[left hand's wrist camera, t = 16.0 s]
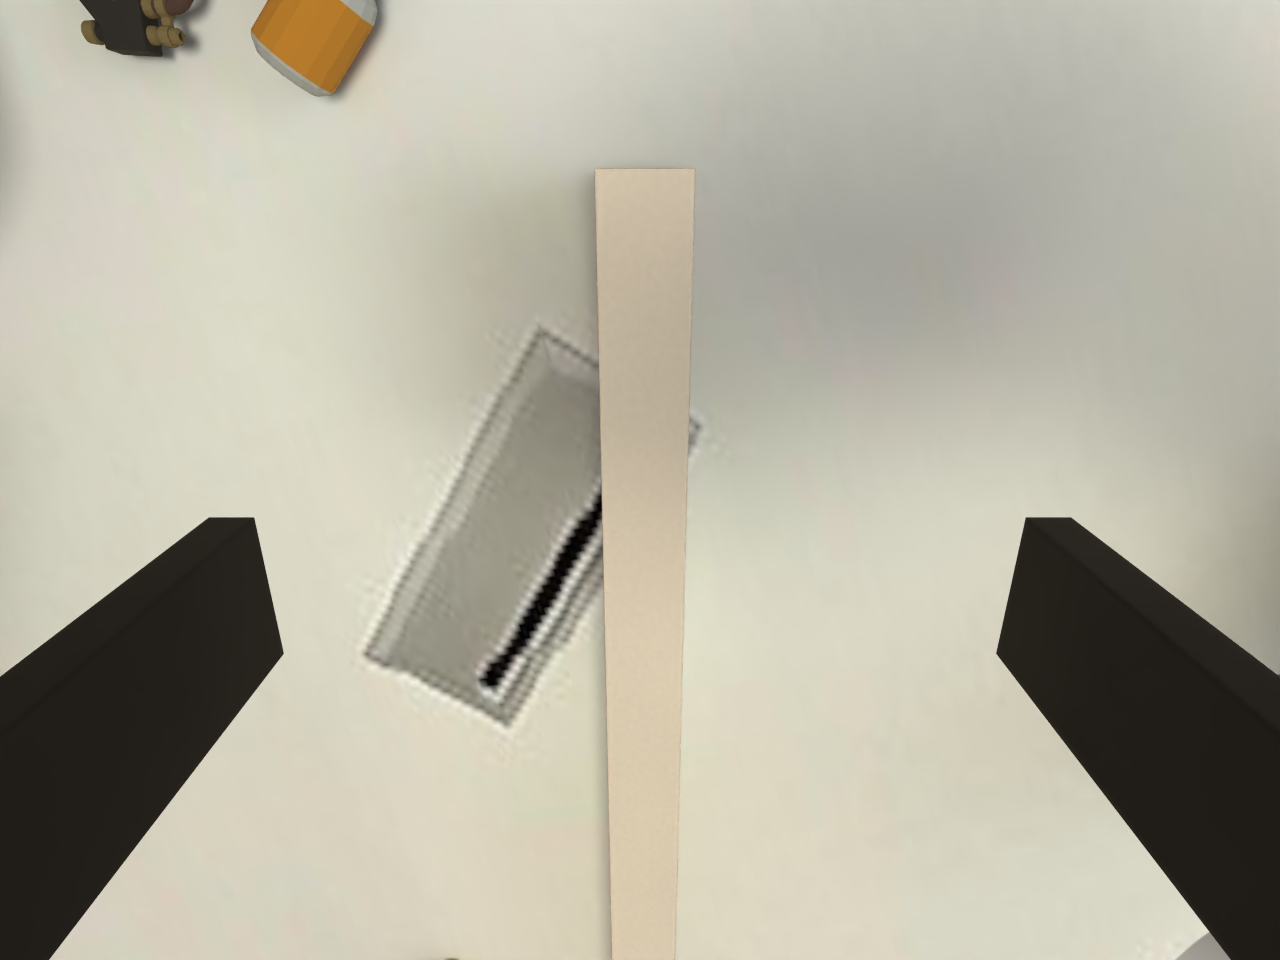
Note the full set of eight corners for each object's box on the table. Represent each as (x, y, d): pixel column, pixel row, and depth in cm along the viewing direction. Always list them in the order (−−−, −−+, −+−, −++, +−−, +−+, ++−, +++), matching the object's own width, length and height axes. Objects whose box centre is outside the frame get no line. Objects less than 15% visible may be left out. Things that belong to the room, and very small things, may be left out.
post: (603, 172, 40) (594, 168, 33) (684, 172, 40) (695, 168, 33) (619, 1067, 70) (616, 1176, 62) (666, 1067, 70) (669, 1176, 62)
